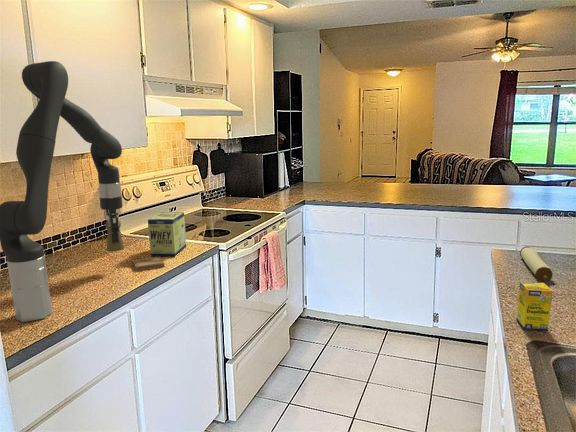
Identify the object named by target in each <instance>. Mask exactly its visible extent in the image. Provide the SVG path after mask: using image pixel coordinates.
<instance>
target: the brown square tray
mask: <svg viewBox="0 0 576 432" xmlns="http://www.w3.org/2000/svg"><path fill="white" fill-rule="evenodd" d="M132 265H133V266H134V269H135V271H136V272H143V271H148V270H149V271H150V270H154V269H155V270H157V269H163V268H165V263H164V261H163V260H162V257H147V258H139V259H133V260H132Z"/></svg>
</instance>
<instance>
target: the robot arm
mask: <svg viewBox="0 0 576 432" xmlns="http://www.w3.org/2000/svg"><path fill="white" fill-rule="evenodd" d="M21 79H22V82H23V84H24V86H25V87H26V89H27V90H28V91H29V93H31V94H32V95H33V96H34V97H35V98H37V99H38V101H37V105H36V107H35V108H34V110H33V111H32V112H31V113H30V115H29V116H28V118H27V119H26V121H25V122H24V123H23V125H22V126H21V129H20V131H19V134H18V139H17V144H16V145H17V146H16V159H17V162H18V164H19V166H20V169H21V170H22V173H23V175H24V178H25V181H26V188H25V189H26V193H25V197H24V200H9V201H8V200H7V201H3V202H2V203H1V204H0V247H1V250H2V253H4V255H5V257H6V262H7V271H8V276H9V282H10V283H9V284H10V289H11V296H12V302H13V303H12V304H13V308H14V315H15V320H17V321H19V322H20V323H27V322H31V321H38V320H43V319H46V318H47V317H48V316H49V315H51V314H52V313H53V306H52V299H51V293H50V285H49V278H48V272H47V265H46V257H45V250H44V246H43V245H42V244H40V243H38V242H36V241H34V240H33V239H32V238H30V237H29V236H28V235H33V236H34V235H37V234H40V233H41V232H42V231H43V229H44V227H45V225H46V221H47V214H48V200H49V199H48V198H49V184H50V178H51V177H50V175H51V171H52V165H53V164H52V163H53V160H54V159H53V158H54V153H55V148H56V147H55V146H56V138H57V131H58V128H59V123H60V122H59V121H60V119H61V118H62V119H63V120H64V121H66V122H67V124H68V125H70V127H71V128H73V130H74V131H75V132H76V133H77V134H78V135H79V136H80V137H81V139H83V140H84V141H85V142H87V144H88V143H89V144H90V149H89V150H90V155H91V159H92V161H93V163H94V167H95V168H96V171H97V179H98V198H99V205H100V206H99V207H100V210H103V211H107V212H106V213H105V215H106V216H105V217H106V219H107V220H106V222H107V221H108V224H109V227H110V228H111V231H110V232H111V235H112V243H113V244H114V243H115V242H116V243H119V239H118V232H119V227H118V226H119V221H120V220H119V218H120V215H119V213H118V212H117V210H119V209H122V208H123V207H124V206H123V205H124V203H123V197H122V196H123V195H122V187H121V182H120V181H121V180H120V171H119V167H117V166H115V165H112V164H111V163H110V161H109V160H116V159H118V158H120V157H121V156H122V154H123V148H122V145H121V143H120V141H119V140H118V139H117V138H116V137H115V136H114V135H112V134H111V133H110V132H109V131H107V130H106V129H104V128H102V126H100V124H99V123H98V122H97V121H96V119H95V118H94V117H93V116H92V115H91V114H90V113H89V112H88V111H87V110H85V109H84V108H82V107H80V106H79V105H77V104H75V103H74V102H72V101H70V100H69V99H67V98H66V94H67V91H68V88H69V87H68V86H69V75H68V71H67V69H66V67H65V65H63V64H62V63H61V62H59V61H55V60H47V61H42V62H35V63H31V64H27V65H26V66H24V67H23V69H22V72H21ZM60 117H61V118H60ZM110 223H111V224H110ZM113 227H116V229H113Z"/></svg>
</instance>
